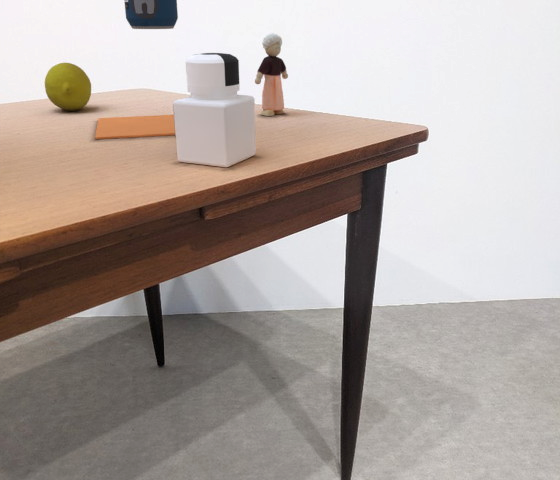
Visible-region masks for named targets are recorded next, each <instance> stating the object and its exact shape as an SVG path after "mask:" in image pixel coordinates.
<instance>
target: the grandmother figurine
mask: <svg viewBox="0 0 560 480" xmlns="http://www.w3.org/2000/svg"><path fill="white" fill-rule="evenodd" d="M261 43H262V48H263V49H264V51H265V53H266V55H267V56H265V57H263V59H262V61H261V63H260V65H259V67H258V69H257V73H256V75H255V79H254V83H255V84H256V85H261V83H262V79H263V77H264V82H263V87H262V94H261V109H262V110H261V112H260V116H264V117H273V116H275V115H282V114H284V113H285V112H284V110H285V99H284V92H283V84H282V79H283V80H287V79H288V78H289V74H288V71H287V67H286V64H285V62H284V60H283V59H282V58H280V57H279V55H280V53H281V51H282V50H281V49H282V46H283V38H282V37H281V36H280V35H278V34H277V33H274V32H271V33H269V34H267V35H266V36H265V37H263V40H262V42H261Z"/></svg>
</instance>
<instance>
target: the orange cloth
mask: <svg viewBox="0 0 560 480" xmlns="http://www.w3.org/2000/svg"><path fill="white" fill-rule="evenodd" d="M165 136H166V137H168V136H175V124H174V114H158V115H157V114H156V115H138V116H137V115H136V116H115V117H113V116H112V117H98V119H97V124H96V129H95V135H94V140H110V139H129V138H147V137H148V138H149V137H165Z"/></svg>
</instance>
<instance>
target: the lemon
mask: <svg viewBox="0 0 560 480" xmlns="http://www.w3.org/2000/svg"><path fill="white" fill-rule="evenodd" d="M44 89H45V94H46V96H47V98H48V100H49V101H50V102H51V103H52V104H53V105H54V106H56V107H57V108H58V109H59V108H60V109H62V110H65V111H70V112H71V111H72V112H73V111H78V110H81V109H83V108H84V107H85V106H87V104H88V103H89V101H90V100H91V99H90V98H91V96H92V83H91V80H90V77H89V76H88V74H87V73H86V72H85V70H84V69H83V68H81V67H80V66H79V65H76V64H74V63H71V62H60V63H57V64H55V65H53V66H51V68H50V69H48V71H47V73H46V76H45V77H44Z"/></svg>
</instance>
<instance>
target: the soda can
mask: <svg viewBox="0 0 560 480" xmlns="http://www.w3.org/2000/svg"><path fill="white" fill-rule="evenodd" d="M124 11H125V19H126V22H127V23H128V24H129V26H130V28H131V29H132V30H172V29H173V30H174V29H175V26H176V23H177V22H178V19H179V13H178V0H124Z"/></svg>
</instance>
